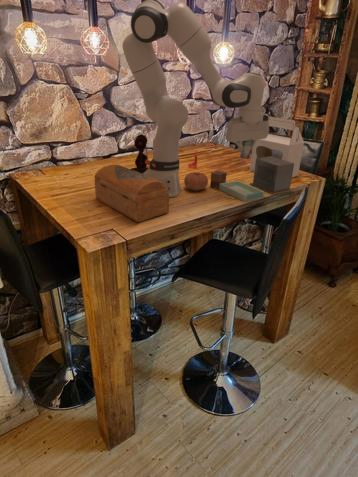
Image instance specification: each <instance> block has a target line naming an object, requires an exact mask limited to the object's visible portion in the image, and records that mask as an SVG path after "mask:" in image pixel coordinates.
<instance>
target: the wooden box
mask: <svg viewBox="0 0 358 477" xmlns="http://www.w3.org/2000/svg"><path fill="white" fill-rule="evenodd" d="M94 192H95V193H94V194H95V198H96V200H97V201H99V202H101V203H103V204H105V205H106V206H108V207H110V208H112V209H113V210H115V211H117V212H119V213H120V214H122V215H124V216H125V217H127V218H129V219H131V220H132V221H135V222H136V223H141V222H142V221H146V220H149V219H153V218H155V217H159V216H161V215H166V214H168V213H169V208H170V206H169V204H170V197H169V188H168V187H167V186H166V185H165V184H163V183H162V182H160V181H158V180H156V179H153V178H151V177H148V176H146V175H144V174H142V173H139V172H137V171H134V170H131V168H128V167H125V166H123V165H120V164H108V165H105V166H102V167H100V169H98V170H97V172H96V173H95V174H94Z"/></svg>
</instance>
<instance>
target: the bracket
mask: <svg viewBox="0 0 358 477" xmlns="http://www.w3.org/2000/svg"><path fill="white" fill-rule="evenodd" d="M187 167H188V168H190V169H197V168H198V151H197V150H195V152H194V162H193V163H189V164H188V166H187Z"/></svg>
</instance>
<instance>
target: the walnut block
mask: <svg viewBox="0 0 358 477" xmlns="http://www.w3.org/2000/svg"><path fill="white" fill-rule="evenodd" d="M210 172H211V173H210V188H212V189H216V190H219V184H220V183H226V181H227V172H225V171H222V170H215V171H210ZM219 191H220V190H219Z"/></svg>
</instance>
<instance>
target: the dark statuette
mask: <svg viewBox="0 0 358 477" xmlns="http://www.w3.org/2000/svg"><path fill="white" fill-rule="evenodd" d="M133 142H134V144H133V145H134V146H135V148H136V149H137V150H138V153H137V156H136V158H135V162H134V164H135V167H132V168H130V169H131V170H134V171H137V172H139V173H142V174H143V173H144V172H145V171H146V170H147V169H149V166H148V165H147V164H146V163H145V161H146V160H149V155H148V148H147V144H148V138H147V136H146V135H144V134H138V135H137V136H136V137H135V140H134V141H133ZM144 151H145V153H144Z"/></svg>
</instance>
